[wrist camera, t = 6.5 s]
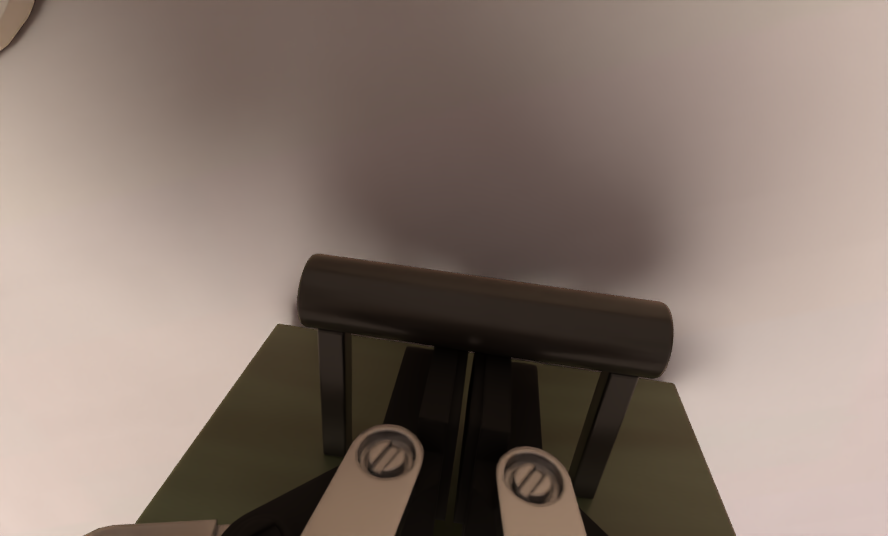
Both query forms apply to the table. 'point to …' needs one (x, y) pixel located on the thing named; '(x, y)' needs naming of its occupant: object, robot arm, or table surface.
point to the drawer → (471, 329)
